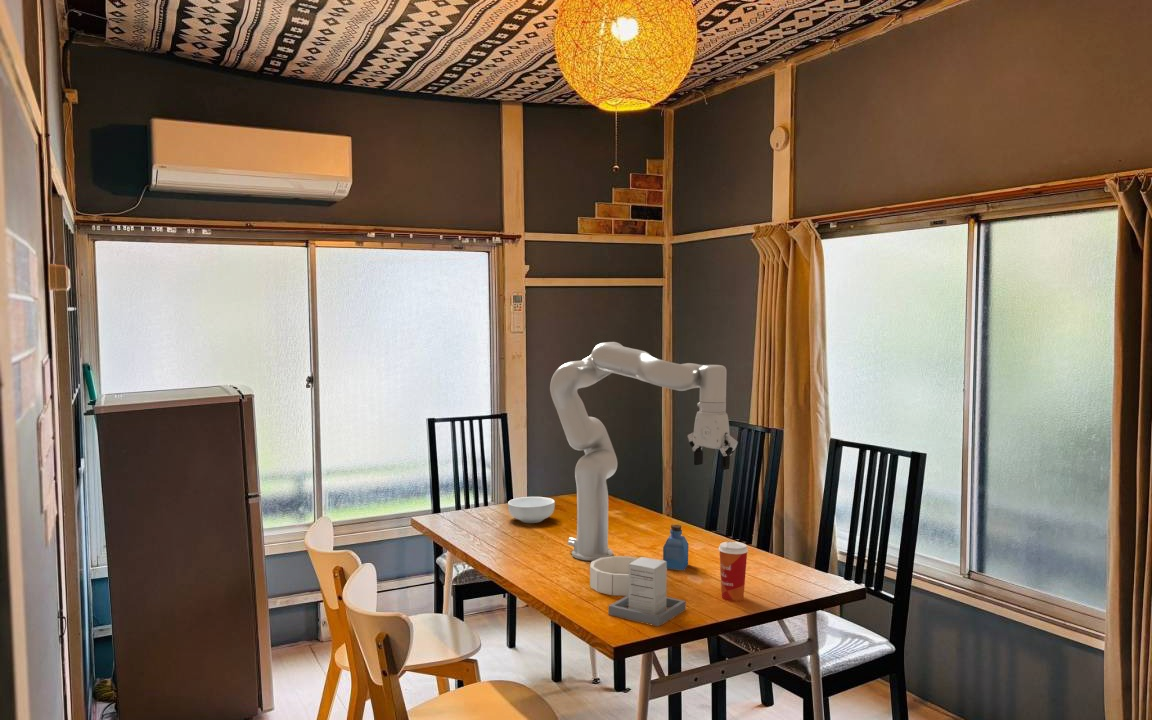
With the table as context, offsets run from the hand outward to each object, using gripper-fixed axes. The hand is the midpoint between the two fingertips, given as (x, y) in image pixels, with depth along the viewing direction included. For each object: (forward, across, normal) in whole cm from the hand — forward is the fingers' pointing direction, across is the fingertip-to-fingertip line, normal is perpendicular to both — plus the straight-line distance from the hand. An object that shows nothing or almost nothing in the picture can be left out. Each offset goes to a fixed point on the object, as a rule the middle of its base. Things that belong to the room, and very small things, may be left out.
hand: (711, 466), depth 239 cm
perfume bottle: (+30, -9, -5) cm, 32 cm away
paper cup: (+30, +19, -15) cm, 39 cm away
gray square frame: (+30, +12, -39) cm, 51 cm away
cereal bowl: (+31, -79, -2) cm, 85 cm away
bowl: (+30, -7, -29) cm, 43 cm away
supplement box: (+30, +12, -39) cm, 51 cm away
